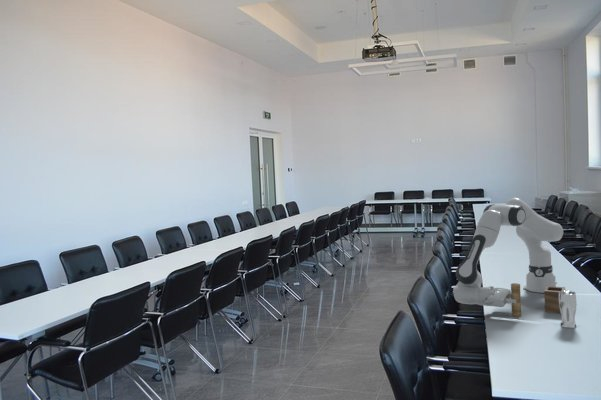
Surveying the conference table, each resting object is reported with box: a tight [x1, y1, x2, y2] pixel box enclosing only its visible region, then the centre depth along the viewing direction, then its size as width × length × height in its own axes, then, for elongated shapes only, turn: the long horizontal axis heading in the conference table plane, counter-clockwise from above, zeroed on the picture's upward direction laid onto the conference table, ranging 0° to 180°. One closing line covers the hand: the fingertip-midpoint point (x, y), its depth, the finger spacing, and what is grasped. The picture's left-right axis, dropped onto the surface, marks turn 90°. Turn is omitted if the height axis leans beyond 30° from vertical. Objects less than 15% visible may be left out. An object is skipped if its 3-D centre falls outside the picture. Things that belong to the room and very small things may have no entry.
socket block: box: [543, 286, 566, 314], centre depth 236 cm, size 10×8×10 cm
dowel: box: [510, 282, 522, 320], centre depth 232 cm, size 4×4×16 cm
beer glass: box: [559, 290, 578, 329], centre depth 216 cm, size 7×7×15 cm
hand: (517, 299), depth 231 cm, fingers open, 6 cm apart
